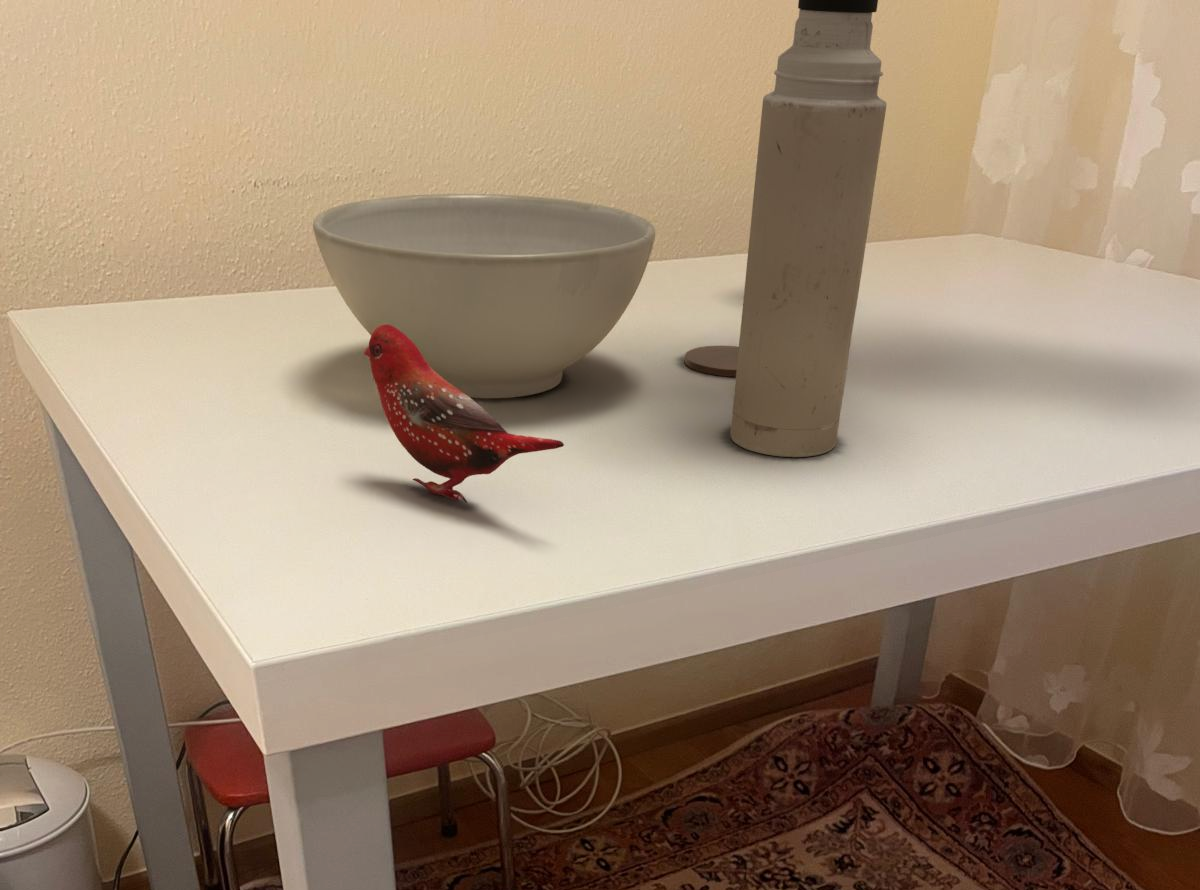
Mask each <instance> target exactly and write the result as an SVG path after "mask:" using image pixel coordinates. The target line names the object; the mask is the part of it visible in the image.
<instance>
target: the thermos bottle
mask: <svg viewBox="0 0 1200 890" xmlns="http://www.w3.org/2000/svg"><path fill="white" fill-rule="evenodd" d="M797 3H798V4H797V9H799V11H798V18H797V19H796V21H795V23H794V24H795V25H794V31H793V32H794V33H793V40H792V45H791V46H790V47H789V48H787V49H786V50H785V51H784V52H782V53H781V54H780V55H779V56H778V57H777V65H776V69H775V70H774V71H773V74H774V75H775V84H774V90H773V91H771V92H769V93H767V94H766V93H765V95H764V96H763V97H762V106H761V116H760V125H759V138H758V148H757V155H756V156H757V157H756V167H755V177H754V186H753V196H752V197H753V198H752V207H751V217H750V218H751V219H750V227H749V228H750V229H749V239H748V248H747V259H746V270H745V280H744V289H743V300H742V310H741V311H742V312H741V321H740V331H739V339H738V347H739V350H738V361H737V371H736V377H735V383H734V394H733V401H732V402H733V403H732V412H731V413H732V414H731V423H730V432H729V433H730V434H729V435H730V438H731V439H730V440H731V441H732V442H733V443H735V444H736V445H738V446H739V447H741V448H743V449H745V450H748V451H750V452H753V453H758V454H763V455H767V456H774V457H784V458H805V457H815V456H820V455H824V454H826V453H829V452H830V451H832V450H833V449H834V448H835V447H836V445H837V440H838V434H839V433H838V432H839V425H840V420H841V412H842V406H843V399H844V392H845V385H846V379H847V372H848V366H849V358H850V352H851V351H850V350H851V343H852V336H853V329H854V323H855V316H856V311H857V305H858V297H859V292H860V285H861V278H862V272H863V266H864V259H865V253H866V247H867V246H866V244H867V241H868V240H867V239H868V234H869V233H868V232H869V225H870V218H871V211H872V206H873V199H874V191H875V185H876V179H877V171H878V167H879V166H878V165H879V159H880V154H881V153H880V152H881V145H882V138H883V131H884V127H885V120H886V112H887V101H885V100H884V99H882V98H880V97H879V96H878V93H879V86H880V85H879V84H880V77H883V75H884V73H883V71H881V69H882V60H881V58H879V57H878V55H876V54H875V53H874V51H872V49H871V43H872V36H873V26H874V25H873V22H872V17H873V13H877V11H878V4H879V0H798V2H797Z"/></svg>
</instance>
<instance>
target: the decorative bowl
mask: <svg viewBox="0 0 1200 890" xmlns="http://www.w3.org/2000/svg"><path fill="white" fill-rule="evenodd" d="M312 230H313V233H314V237H315V241H316V244H317V246H318V250H319V252H320V255H321V257H322V260H323V262H324V265H325V267H326V270H327V271H328V273H329V276H330V278H331V279H332V281H333V283H334V285H335V287H336V289H337V291H338V293H339V294H340V296H341V298H342V300H343V301H344V303H345V304H346V306H347V308H348V309H349V310H350V312H351V313H352V314H353V316H354V318H356V320H357V321H358V322H359V324H360V325H361V326H362V327H363V329H364V330H365V331H366V332H367V333H368V334H369V336H371V335H372V333H373V332H374V330H375V329H376V328H377V327H379V326H380V325H391V326H393V327H395V328H397V329H398V330H400V331H401V332H402V333H403V334H405V335H406V336H407V337H408V338H409V339H410V340H411V341H412V342H413V343H414V344H415V345H416V347H417V348H418V349H419V351H420V352H421V354H422V356H423V357H424V359H425V360H426V362H427V363H428V364H429V366H430V367H431V368H432V369H433V370H434V371H435V372H436V373H437V374H439V375H440V376H441V377H442V378H443V379H444V380H446V381H447V382H448V383H450V384H451V385H452V386H454V387H455V388H457V389H458V390H460V391H461V392H463V393H464V394H466V395H467V396H468V397H470V398H471V399H509V398H510V399H511V398H521V397H527V396H532V395H537V394H540V393H544V392H546V391H550V390H552V389H553V388H555V387H557V386H558V385H559V384H560V383H561V382H562V380H563V373H564V370H565V369H567V368H568V367H570V366H572V365H573V364H575V363H576V362H578V361H580V360H581V359H583V358H584V357H585V356H587V355H588V354H589V353H590V352H592V351H593V350H594V349H596V347H597V346H598V345H600V343H601V342H602V341H603V340H604V339H605V338H606V337H607V336H608V335H609V334H610V332H611V331H613V329H614V328H615V325H617V323H618V322H619V321H620V319H621V317H622V316H623V315H624V313H625V312H626V309H627V308H628V307H629V305H630V303H631V301H632V300H633V298H634V296H635V294H636V292H637V290H638V288H639V285H640V284H641V281H642V278H643V277H644V274H645V273H646V268H647V267H648V263H649V260H650V257H651V254H652V251H653V247H654V244H655V240H656V228H655V226H654V224H653V223H652V222H651V221H649V220H648V219H646V218H644V217H642V216H641V215H637V214H635V213H633V212H630V211H626V210H622V209H619V208H615V207H611V206H606V205H602V204H596V203H591V202H586V201H578V200H571V199H563V198H553V197H542V196H532V195H516V194H515V195H514V194H492V193H434V194H433V193H432V194H414V195H411V194H410V195H400V196H389V197H388V196H387V197H380V198H379V197H377V198H371V199H364V200H357V201H353V202H348V203H344V204H341V205H337V206H333V207H331V208H328V209H326V210H324V211H322V212H320V213H318V214H317V215H316V217H315V218H313V221H312Z"/></svg>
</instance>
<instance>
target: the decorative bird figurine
mask: <svg viewBox="0 0 1200 890" xmlns="http://www.w3.org/2000/svg"><path fill="white" fill-rule="evenodd" d="M363 354H364V355H365V356H367V357H368V358H369V363H370V369H371V373H372V376H373V380H374V382H375V385H376V388H377V391H378V395H379V398H380V404H381V406H382V410H383V412H384V415H385V418H386V420H387V422H388V424H389V427H390V428H391V430H392V432H393V433H394V436H395V437H396V439H397V440H398V442H399V443H400V444H401V446H402V447H403V448H404V449H405V451H406V452H407V453H408V454H409V455H410V456H411V458H412V459H414V460H415V461H416V463H418V464H419V465H421V466H423V468H425V469H427V470H428V471H430V472H432V473H433V474H435V475H438V476H441V477H443V478H447V479H448V480H446V481H444V482H442V483H437V482H435V481H431V480H430V481H427V482H425V481H423V480H421V479H420V478H415V477H414V478H413V479H412V481H414V482H417V483H418V484H420V485H422V486H423V487H425V488H426V490H427V492H429V493H431V494H432V495H437V496H444V497H446V498H450V499H452V500H453V501H456V502H459V501H460V499H461V500H462V501H463V502H464V503H468V500H467V498H466V497H465V496H464V494H462V493H461V492H460V491H458V490H456V489H454V487H456V486H458V485H461V484H462V483H463V482H464V481H465V480H466V479H468V478H469V477H471V476H477V475H490V474H492V473H493V472H494V471H496V470H498V468H500V467H501V466H502V465H503V464H504V463H505V462H506V461H508V460H509V459H510V458H513V457H514V456H517V455H520V454H526V453H527V454H528V453H535V452H542V451H547V450H555V449H559V448H562V447H564V446H565V444H564V442H562V441H561V440H557V439H552V438H543V437H534V436H532V435H531V436H530V435H527V436H526V435H523V434H520V435H519V434H515V433H509V432H508V431H506V429H504V427H503V426H502V425H501V424H500V423H499V422H498V421H497V420H496V419H495V418H494V417H493V416H492V415H491V413H489V412H488V411H487V410H486V409H485V408H483V407H482V406H481V405H480V404H478V403H477V402H476V401H475V400H474V399H473V398H472V397H468V396H467V395H466V394H464V393H463V392H461V391H460V390H458V389H457V388H455V387H454V386H452V385H451V384H450V383H448V382H447V381H446V380H444V379H443V378H442V377H441V376H440V375H439V374H437V373H436V372H435V371H434V370H433V369H432V368H431V367H430V366H429V364H428V363H427V362H426V360H425V359H424V357H423V356H422V354H421V352H420V351H419V349H418V348H417V347H416V345H415V344H414V343H413V342H412V341H411V340H410V339H409V338H408V337H407V336H406V335H405V334H403V333H402V332H401V331H400V330H398V329H397V328H395V327H393V326H391V325H380V326H379V327H377V328H376V329H375V330H374V332H373V333H372V335H370V338H369V341H368V347H367V348H366V349H365V351H364V353H363Z"/></svg>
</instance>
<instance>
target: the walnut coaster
mask: <svg viewBox="0 0 1200 890" xmlns="http://www.w3.org/2000/svg"><path fill="white" fill-rule="evenodd" d="M738 350H739V345H738V346H737V345H705V346H700V347H699V346H698V347H695V348H691V349H689V350H687V351H686V352H685V354H684V364H685V366H687V367H688V368H690V369H692V370H694V371H695V372H696V371H697V372H700V373H703V374H707V375H713V376H719V377H730V378H731V377H733V378H734V377H735V378H736V371H737V361H738Z"/></svg>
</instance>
